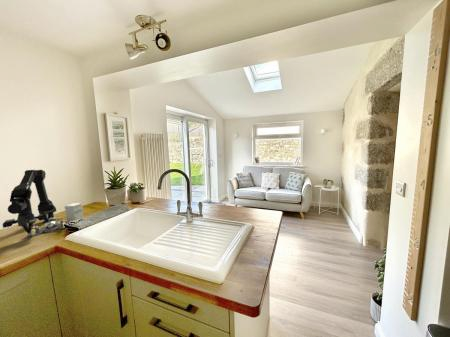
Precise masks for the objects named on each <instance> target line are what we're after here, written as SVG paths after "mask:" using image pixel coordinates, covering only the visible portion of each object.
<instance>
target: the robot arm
mask: <svg viewBox="0 0 450 337" xmlns="http://www.w3.org/2000/svg"><path fill="white" fill-rule="evenodd" d="M46 175H47V174H46V172H45V170H43V169H26V170H24V174H23V177H22V179H21V181H20V182H19V184H18V185H16V186H15V187H14V188H13V189H12V191H10V192H11V193H10V198H9V202H10V203H11V204H10V205H8V207H7V211H8V213H10V214H12V215H16V214H17V219H15V218H12V219H6V220H5V221H4V222H3V223H2V228H9V227H12V226H13V225H15V224H17V227H22V228H23V230H25V232H26V233H27V235H28V234H30V232H31V229H32V227H33V226H34V224H35V223H36V222H37V220H38V221H39V222H40V221H42V222H43V223H44V224H45V223H47V222H48V219H49V218H53V217H55V216H54V213H55V212H57V207H56V205H55V204H54V203H53V201H52V200H50V199H49V197H48V193H47V189H46V186H45V182H44V181H45V179H46ZM33 183H34V185H35V189H36V193H37V197H38V200H39V203H38V205H37V211H38V215H37V216H35V214H34V213H33V209H32V202H31V197H32V193H33V190H32V189H31V187H32V184H33Z"/></svg>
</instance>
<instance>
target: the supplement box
mask: <svg viewBox="0 0 450 337" xmlns="http://www.w3.org/2000/svg"><path fill="white" fill-rule="evenodd" d="M83 210H84V209H83V204H82V202H73V203H70V204H67V205H65V206H64V211H65V218H66V220H68V222H70V221H73V220H77V219H81V218H83V217H84V211H83ZM84 218H85V217H84Z"/></svg>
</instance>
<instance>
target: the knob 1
mask: <svg viewBox="0 0 450 337" xmlns="http://www.w3.org/2000/svg"><path fill="white" fill-rule="evenodd" d="M39 229H40V227H39V225H33V226H32V229H31V232H30V233H32V235H33V234H35V233H36V232H38V231H39Z"/></svg>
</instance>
